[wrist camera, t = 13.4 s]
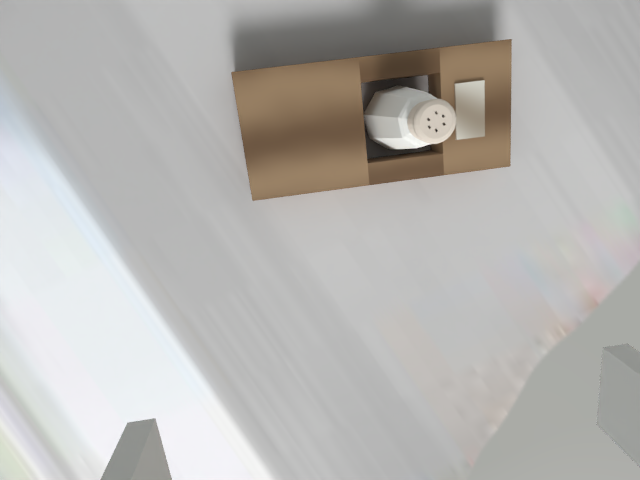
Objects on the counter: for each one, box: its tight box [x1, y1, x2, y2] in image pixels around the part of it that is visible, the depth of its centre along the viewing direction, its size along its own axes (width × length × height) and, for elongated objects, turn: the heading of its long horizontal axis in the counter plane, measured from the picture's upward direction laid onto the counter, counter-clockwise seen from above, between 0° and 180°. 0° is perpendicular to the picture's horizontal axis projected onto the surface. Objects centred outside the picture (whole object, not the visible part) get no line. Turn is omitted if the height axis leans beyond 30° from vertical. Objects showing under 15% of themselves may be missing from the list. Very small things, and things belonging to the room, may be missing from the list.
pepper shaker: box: [363, 85, 456, 150], centre depth 34 cm, size 5×5×11 cm
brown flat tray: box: [231, 39, 511, 201], centre depth 37 cm, size 10×22×3 cm, turn 97°
